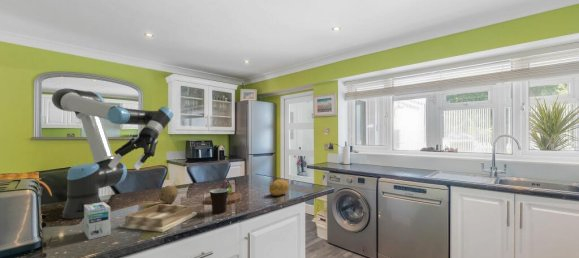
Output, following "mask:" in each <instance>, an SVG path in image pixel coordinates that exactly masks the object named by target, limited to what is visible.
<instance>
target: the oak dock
mask: <svg viewBox="0 0 579 258" xmlns="http://www.w3.org/2000/svg"><path fill="white" fill-rule="evenodd" d="M193 208H194V207H193V206H191V205H179V204H167V203H158V204H155V205H153V206H150V207H147V208H144V209H141V210H138V211H136V212H132V213H129V214H126V215H125V217H124V218H125V221H124V222H123V223H120V224H119V228H125V229H134V230H140V231H141V230H144V231H151V232H152V231H153V232H161V233H163V232H165V231H167V230H169V229H171V228H174V227H175V226H177V225H179V224H181V223H184V222H185V221H188V220H189V219H191V218H193V217H195V216H197V215H198V212H197V211H193Z"/></svg>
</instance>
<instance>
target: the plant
mask: <svg viewBox="0 0 579 258" xmlns="http://www.w3.org/2000/svg"><path fill="white" fill-rule="evenodd" d="M225 183H227V180H226V179H224V180H223V183H222V185H221V184H219V185H218V186H217V187H216V189H228V199H227V205H231V204H233V205H234V204H236V203H238V202H241V200H242V198H243V193H240V192H237V191H233V185H232V184H228V185H227V186H226V185H225ZM220 187H221V188H220ZM228 187H229V188H228ZM204 204H205V205H206V204H207V205H212V204H211V196H210V195H209V196H206V197H205V198H204Z"/></svg>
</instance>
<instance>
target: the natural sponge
mask: <svg viewBox="0 0 579 258" xmlns="http://www.w3.org/2000/svg"><path fill="white" fill-rule="evenodd" d="M178 194H179V191H178V188H177V187H176V186H174V185H169V184H168V185H166V186H164V187H163V188H162V189H161V190H160V192H159V200H160V201H162V202H165V204H168V205H173V203H174V202H175V200H176V199H177V197H178Z"/></svg>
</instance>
